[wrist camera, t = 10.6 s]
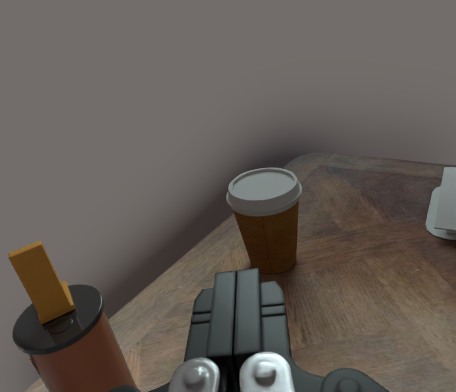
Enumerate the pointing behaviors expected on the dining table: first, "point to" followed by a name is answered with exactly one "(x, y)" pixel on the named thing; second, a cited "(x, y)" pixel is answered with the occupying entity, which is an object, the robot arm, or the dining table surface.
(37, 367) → the tumbler
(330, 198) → the dining table surface
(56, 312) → the slider
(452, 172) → the book
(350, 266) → the dining table surface
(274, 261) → the disposable coffee cup
